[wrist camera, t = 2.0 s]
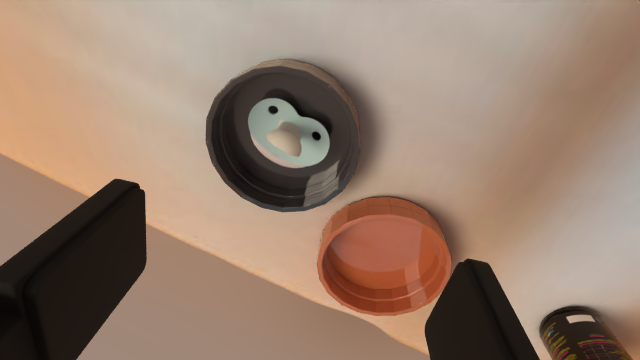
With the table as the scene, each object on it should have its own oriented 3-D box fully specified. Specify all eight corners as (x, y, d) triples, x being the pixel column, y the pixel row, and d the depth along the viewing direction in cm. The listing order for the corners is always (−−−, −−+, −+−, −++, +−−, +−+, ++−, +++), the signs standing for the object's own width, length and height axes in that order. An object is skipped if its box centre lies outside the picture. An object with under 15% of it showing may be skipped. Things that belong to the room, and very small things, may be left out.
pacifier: (306, 176, 34) (339, 128, 31) (295, 213, 28) (334, 159, 26) (239, 138, 33) (267, 84, 30) (214, 169, 27) (246, 106, 24)
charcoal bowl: (375, 77, 29) (377, 86, 26) (341, 204, 35) (340, 224, 32) (224, 44, 29) (208, 50, 26) (216, 178, 35) (203, 195, 32)
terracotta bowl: (462, 210, 34) (473, 231, 31) (420, 301, 40) (425, 326, 37) (334, 182, 34) (332, 201, 31) (311, 278, 40) (307, 301, 37)
